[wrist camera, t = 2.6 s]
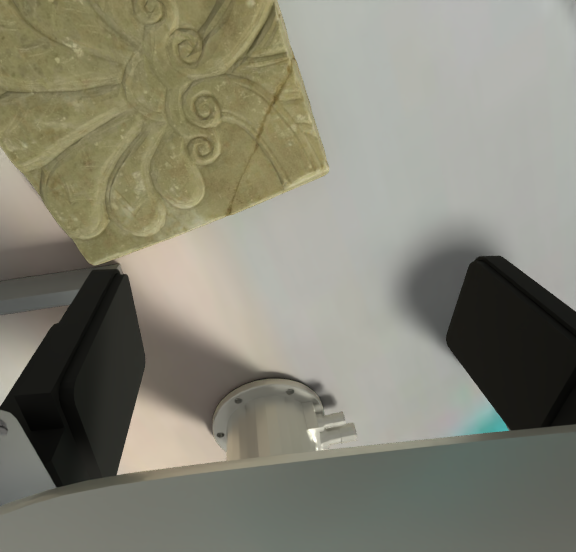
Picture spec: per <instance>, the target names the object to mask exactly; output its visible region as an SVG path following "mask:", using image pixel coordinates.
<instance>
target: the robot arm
mask: <svg viewBox="0 0 576 552" xmlns="http://www.w3.org/2000/svg"><path fill="white" fill-rule="evenodd" d="M446 341H447V345H448V347H449V348H450V350H451V351H452V352H453V354H454V355H455V356H456V358H457V359H458V360H459V362H460V363H461V364H462V366H463V367H464V368H465V370H466V371H467V373H468V374H469V375H470V377H471V378H472V379H473V381H474V382H475V383H476V385H477V386H478V387H479V389H480V390H481V391H482V393H483V394H484V395H485V397H486V398H487V399H488V401H489V402H490V403H491V405H492V406H493V407H494V409H495V410H496V411H497V413H498V414H499V415H500V417H501V418H502V419H503V421H504V422H505V423H506V425H507V426H508V427H509V429H510V430H511V431H503V432H493V433H483V434H473V435H463V436H454V437H444V438H434V439H425V440H415V441H406V442H396V443H387V444H377V445H368V446H358V447H349V448H339V449H330V450H325V449H329V445H333V444H338V443H341V444H342V443H347V442H353V441H357V434H356V429H355V426H354V424H353V423H348V424H345V417H344V414H343V412H339V413H333V414H331V415H325V414H324V410H323V406H322V403H321V401H320V398H319V397H318V396H317V394H316V393H315V392H314V391H313V390H311V389H310V388H309V387H307V386H305V385H303V384H301V383H299V382H296V381H292V380H287V379H264V380H258V381H254V382H251V383H248V384H245V385H243V386H241V387H239V388H237V389H235V390H234V391H232V392H231V393H229V394H228V395H227V396H226V397H225V398H224V399H223V400H222V401H221V402H220V403H219V405H218V406H217V408H216V410H215V413H214V416H213V425H212V429H213V435H214V438H215V441H216V442H217V443H218V445H219V446H220V447H221V448H222V449H223V450H224V451H225V452H227V457H226V461H221V462H213V463H205V464H197V465H189V466H181V467H173V468H166V469H158V470H150V471H142V472H134V473H128V474H122V475H117V471H118V467H119V463H120V459H121V456H122V452H123V448H124V444H125V440H126V437H127V433H128V429H129V425H130V422H131V418H132V414H133V410H134V406H135V403H136V399H137V395H138V391H139V387H140V384H141V380H142V376H143V372H144V368H145V353H144V348H143V343H142V339H141V334H140V329H139V324H138V320H137V315H136V310H135V306H134V301H133V296H132V291H131V287H130V282H129V278H128V276H127V275H126V274H120V271H119V270H118V269H98V270H92V271H91V272H90V274H89V276H88V277H87V279H86V280H85V282H84V284H83V285H82V287H81V288H80V290H79V292H78V293H77V295H76V296H75V298H74V300H73V301H72V303H71V304H70V306H69V308H68V309H67V311H66V312H65V314H64V316H63V317H62V319H61V320H60V322H59V323H57V324H54V325H53V326H52V327H51V328H50V330H49V331H48V333H47V335H46V336H45V338H44V339H43V341H42V342H41V344H40V345H39V347H38V349H37V350H36V352H35V353H34V355H33V356H32V358H31V359H30V361H29V363H28V364H27V366H26V367H25V369H24V370H23V372H22V374H21V375H20V377H19V378H18V380H17V381H16V383H15V384H14V386H13V388H12V389H11V391H10V392H9V394H8V395H7V397H6V398H5V400H4V402H3V403H2V405H1V406H0V552H576V312H575V311H574V310H573V309H571V308H570V307H569V306H567V305H566V304H565V303H563V302H562V301H561V300H559V299H558V298H557V297H555V296H554V295H553V294H551V293H550V292H549V291H547V290H546V289H545V288H543V287H542V286H541V285H539V284H538V283H537V282H535V281H534V280H533V279H531V278H530V277H529V276H527V275H526V274H525V273H523V272H522V271H521V270H519V269H518V268H517V267H515V266H514V265H513V264H511V263H510V262H509V261H507V260H506V259H505V258H503V257H501V256H480V257H478V258H476V259H475V261H474V262H472V263H471V264H470V265H469V267H468V270H467V273H466V276H465V280H464V283H463V286H462V289H461V292H460V295H459V298H458V301H457V304H456V307H455V310H454V313H453V316H452V319H451V323H450V326H449V329H448V332H447V335H446ZM328 427H331V428H328Z"/></svg>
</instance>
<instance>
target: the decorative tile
mask: <svg viewBox="0 0 576 552" xmlns="http://www.w3.org/2000/svg"><path fill="white" fill-rule="evenodd" d="M0 146H1V148H2V149H3V151H4V152H5V154H6V155H7V157H8V158H9V159H10V161H11V162H12V163H13V164H14V165H15V166H16V167H17V168H18V169H19V170H20V171H21V172H22V173H23V174H24V175H25V177H26V178H27V179H28V181H29V182H30V183H31V184H32V185H33V187H34V188H35V190H36V191H37V192H38V194H39V195H40V196H41V198H42V200H43V202H44V204H45V206H46V207H47V209H48V210H49V212H50V213H51V214H52V216H53V217H54V219H55V220H56V222H57V223H58V224H59V226H60V227H61V228H62V229H63V230H64V231H65V232H66V233H67V235H68V236H69V237H71V238H72V239H73V241H74V243H75V244H76V246H77V247H78V249H79V250H80V252H81V254H82V255H83V256H84V258H85V259H86V260H87V262H88V263H90V264H92V265H93V266H96V265H99V264H102V263H105V262H108V261H111V260H113V259H116V258H119V257H122V256H124V255H127V254H130V253H132V252H135V251H138V250H140V249H143V248H146V247H148V246H151V245H154V244H157V243H159V242H162V241H165V240H168V239H171V238H173V237H176V236H178V235H181V234H183V233H186V232H188V231H191V230H193V229H196V228H198V227H201V226H204V225H206V224H208V223H211V222H213V221H216V220H218V219H221V218H224V217H226V216H229V215H233V214H235V213H238V212H240V211H242V210H245V209H247V208H250V207H252V206H255V205H257V204H259V203H262V202H264V201H266V200H269V199H271V198H273V197H276V196H278V195H280V194H282V193H285V192H287V191H290V190H292V189H294V188H297V187H299V186H301V185H304V184H306V183H308V182H311V181H313V180H315V179H318V178H320V177H322V176H324V175H326V174H327V173H328V172H329V166H328V163H327V160H326V155H325V151H324V147H323V144H322V142H321V139H320V136H319V133H318V130H317V126H316V123H315V120H314V117H313V114H312V110H311V106H310V102H309V99H308V96H307V93H306V90H305V87H304V83H303V80H302V77H301V74H300V71H299V68H298V65H297V62H296V60H295V57H294V54H293V51H292V48H291V46H290V43H289V39H288V35H287V31H286V27H285V23H284V20H283V17H282V14H281V11H280V8H279V5H278V2H277V0H0Z"/></svg>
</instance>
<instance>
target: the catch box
mask: <svg viewBox="0 0 576 552" xmlns="http://www.w3.org/2000/svg"><path fill="white" fill-rule="evenodd" d="M98 269H118V270H119V271H120V274H123V272H122V270H121V267H120V264H115V265H108V266H101V267H94V268H87V269H80V270H73V271H66V272H60V273H53V274H46V275H39V276H32V277H25V278H18V279H11V280H4V281H0V315H5V314H11V313H18V312H25V311H31V310H38V309H45V308H51V307H58V306H65V305H70V304H71V303H72V301H73V300H74V298H75V296H76V295H77V293H78V292H79V290H80V288H81V287H82V285H83V284H84V282H85V280H86V279H87V277H88V276H89V274H90V272H91V271H92V270H98Z"/></svg>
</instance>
